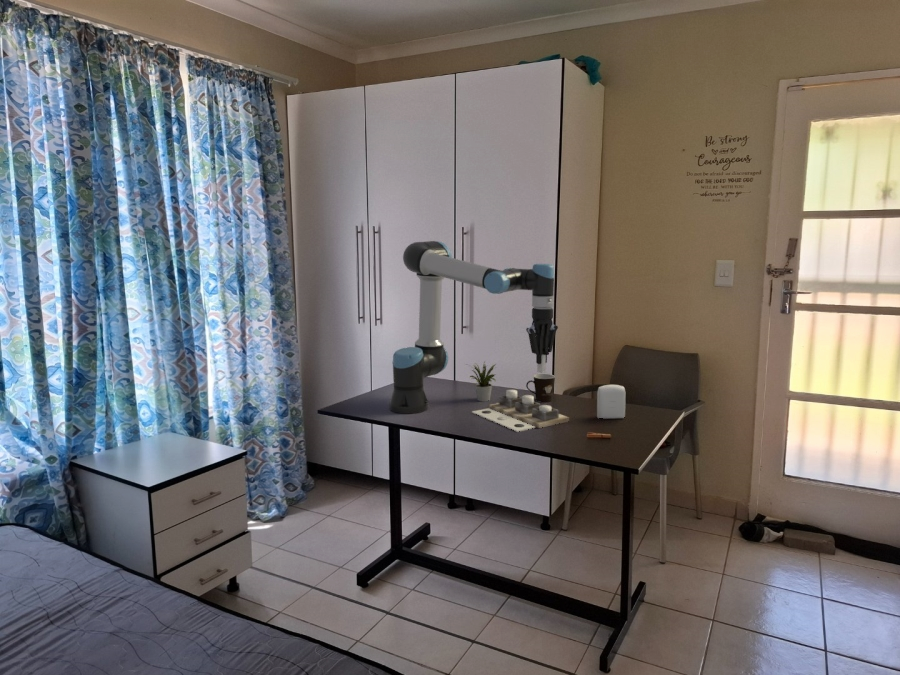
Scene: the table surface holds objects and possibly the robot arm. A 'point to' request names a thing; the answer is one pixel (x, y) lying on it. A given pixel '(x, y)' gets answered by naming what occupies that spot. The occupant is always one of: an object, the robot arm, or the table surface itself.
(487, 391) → the house plant
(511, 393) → the button
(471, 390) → the table surface
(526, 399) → the button middle
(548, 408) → the button
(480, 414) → the pattern card
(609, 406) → the photo printer
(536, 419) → the button board
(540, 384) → the coffee mug
